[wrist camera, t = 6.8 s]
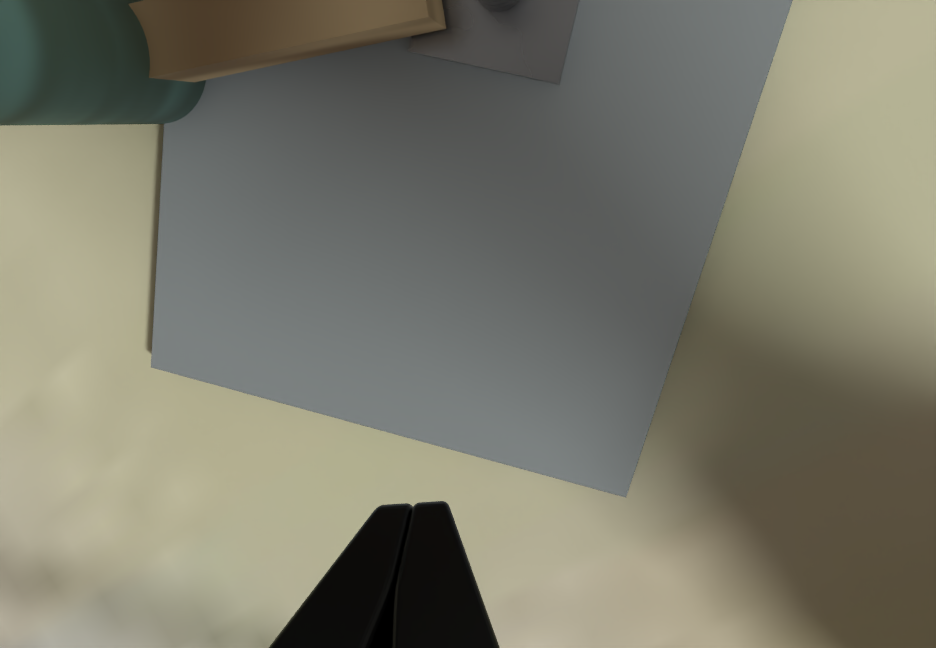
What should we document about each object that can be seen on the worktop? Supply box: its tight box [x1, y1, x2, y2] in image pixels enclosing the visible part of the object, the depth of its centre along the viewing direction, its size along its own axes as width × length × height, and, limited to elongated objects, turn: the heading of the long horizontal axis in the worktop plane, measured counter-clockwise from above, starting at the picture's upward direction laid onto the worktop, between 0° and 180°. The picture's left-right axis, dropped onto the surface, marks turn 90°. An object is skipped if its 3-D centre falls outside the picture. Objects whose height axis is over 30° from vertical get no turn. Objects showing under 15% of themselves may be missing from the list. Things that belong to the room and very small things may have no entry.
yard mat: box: [151, 0, 793, 497], centre depth 17 cm, size 14×14×1 cm
